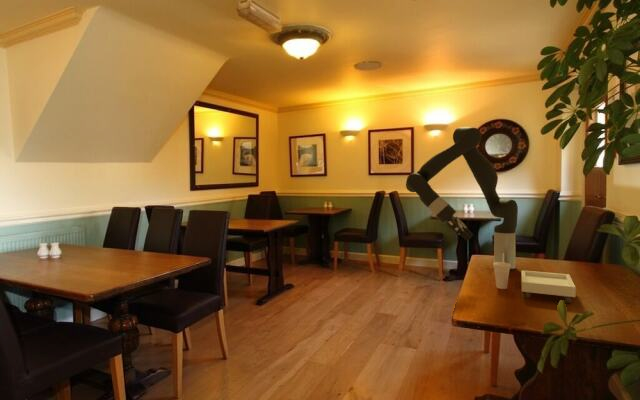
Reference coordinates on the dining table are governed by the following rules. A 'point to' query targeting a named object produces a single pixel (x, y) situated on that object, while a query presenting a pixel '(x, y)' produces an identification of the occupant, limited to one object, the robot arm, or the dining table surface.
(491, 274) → the dining table surface
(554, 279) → the cart
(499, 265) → the smoothie
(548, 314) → the dining table surface
